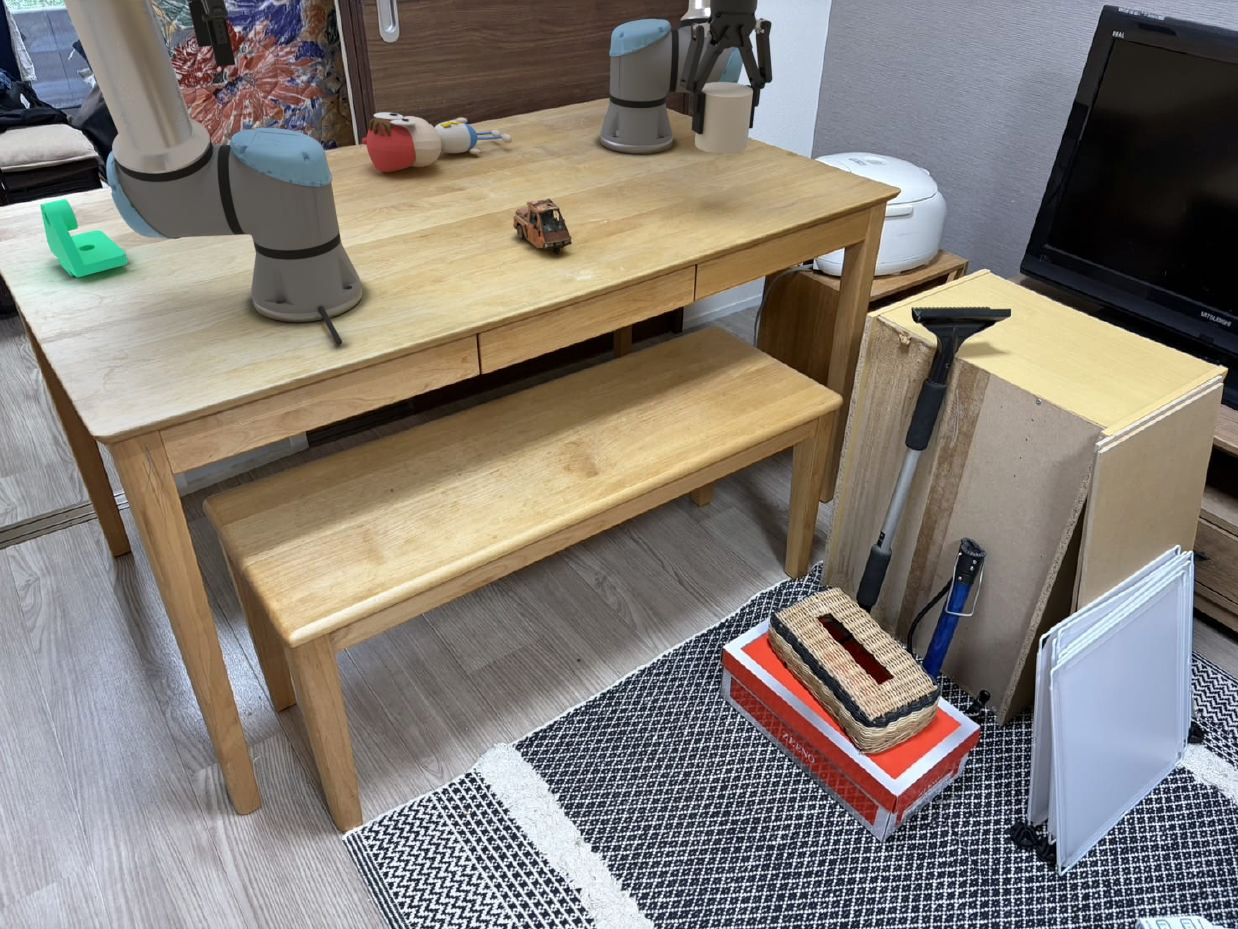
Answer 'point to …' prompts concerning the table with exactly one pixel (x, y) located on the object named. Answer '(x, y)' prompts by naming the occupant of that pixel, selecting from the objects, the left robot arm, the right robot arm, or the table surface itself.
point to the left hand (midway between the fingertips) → (216, 55)
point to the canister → (725, 118)
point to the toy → (418, 140)
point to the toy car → (542, 225)
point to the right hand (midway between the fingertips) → (722, 128)
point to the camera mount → (78, 242)
